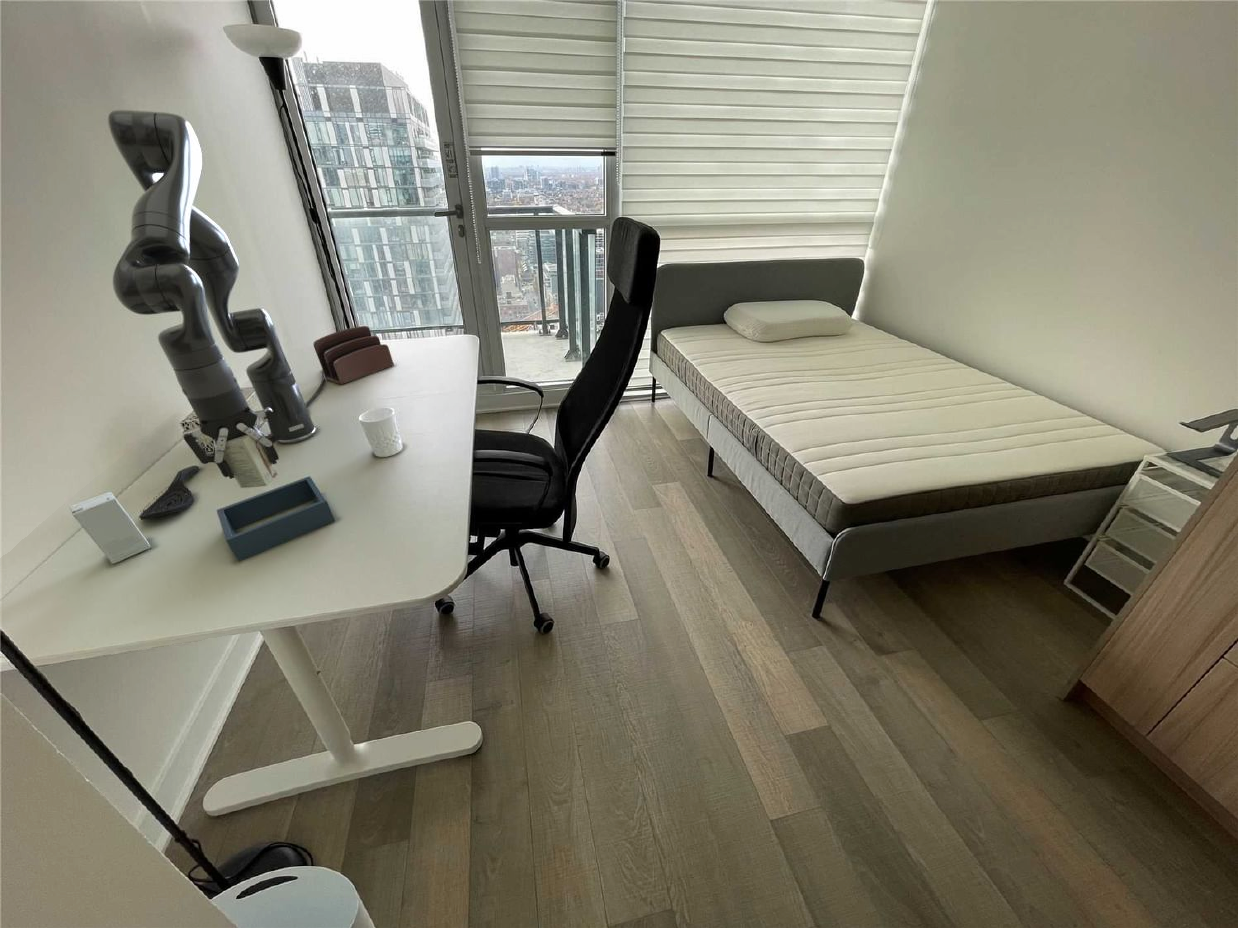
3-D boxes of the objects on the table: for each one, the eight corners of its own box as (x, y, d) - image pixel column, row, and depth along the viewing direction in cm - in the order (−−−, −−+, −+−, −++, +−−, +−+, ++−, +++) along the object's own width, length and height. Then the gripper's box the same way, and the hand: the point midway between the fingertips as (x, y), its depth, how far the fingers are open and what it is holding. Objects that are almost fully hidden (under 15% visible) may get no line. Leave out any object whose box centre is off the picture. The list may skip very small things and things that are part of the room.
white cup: (393, 459, 123) (381, 422, 118) (365, 457, 125) (351, 421, 120) (411, 443, 130) (400, 407, 125) (383, 441, 132) (371, 406, 126)
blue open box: (227, 529, 103) (216, 509, 100) (318, 494, 112) (309, 475, 109) (238, 561, 94) (226, 540, 92) (335, 521, 103) (326, 501, 101)
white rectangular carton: (279, 474, 100) (257, 428, 94) (266, 487, 96) (243, 440, 91) (252, 475, 100) (229, 430, 94) (239, 488, 96) (214, 442, 91)
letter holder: (325, 379, 172) (310, 338, 165) (378, 361, 185) (366, 322, 178) (341, 385, 167) (325, 343, 159) (394, 365, 180) (382, 326, 173)
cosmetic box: (146, 539, 101) (111, 489, 95) (152, 548, 99) (116, 497, 93) (107, 556, 98) (67, 505, 91) (111, 566, 95) (71, 514, 89)
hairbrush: (209, 454, 125) (173, 505, 104) (216, 467, 126) (182, 519, 106) (168, 462, 122) (124, 516, 102) (176, 476, 124) (134, 531, 103)
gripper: (255, 370, 94) (290, 448, 103) (158, 394, 86) (205, 476, 95) (263, 381, 89) (299, 462, 98) (161, 407, 81) (210, 493, 90)
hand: (253, 469), depth 96 cm, fingers closed on white rectangular carton, 6 cm apart
